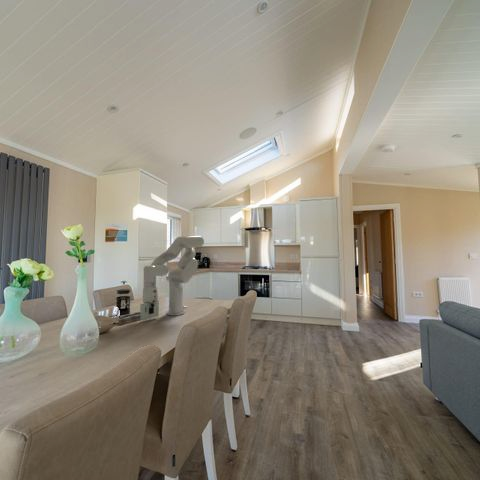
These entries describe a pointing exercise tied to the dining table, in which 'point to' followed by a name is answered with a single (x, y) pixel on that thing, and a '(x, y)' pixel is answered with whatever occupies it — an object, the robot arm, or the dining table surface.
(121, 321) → the door track
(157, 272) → the robot arm
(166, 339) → the dining table surface
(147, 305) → the door panel
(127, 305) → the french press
